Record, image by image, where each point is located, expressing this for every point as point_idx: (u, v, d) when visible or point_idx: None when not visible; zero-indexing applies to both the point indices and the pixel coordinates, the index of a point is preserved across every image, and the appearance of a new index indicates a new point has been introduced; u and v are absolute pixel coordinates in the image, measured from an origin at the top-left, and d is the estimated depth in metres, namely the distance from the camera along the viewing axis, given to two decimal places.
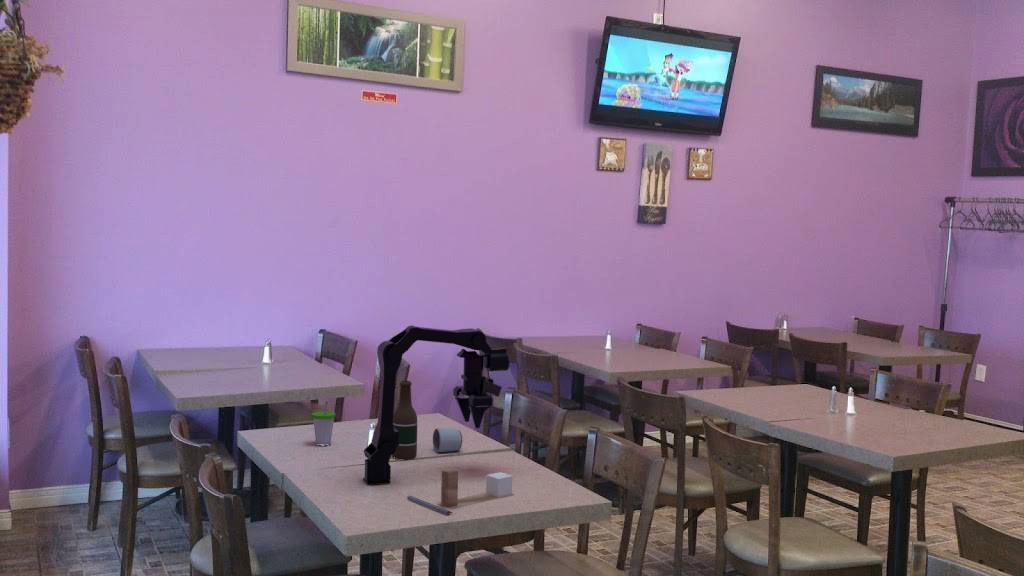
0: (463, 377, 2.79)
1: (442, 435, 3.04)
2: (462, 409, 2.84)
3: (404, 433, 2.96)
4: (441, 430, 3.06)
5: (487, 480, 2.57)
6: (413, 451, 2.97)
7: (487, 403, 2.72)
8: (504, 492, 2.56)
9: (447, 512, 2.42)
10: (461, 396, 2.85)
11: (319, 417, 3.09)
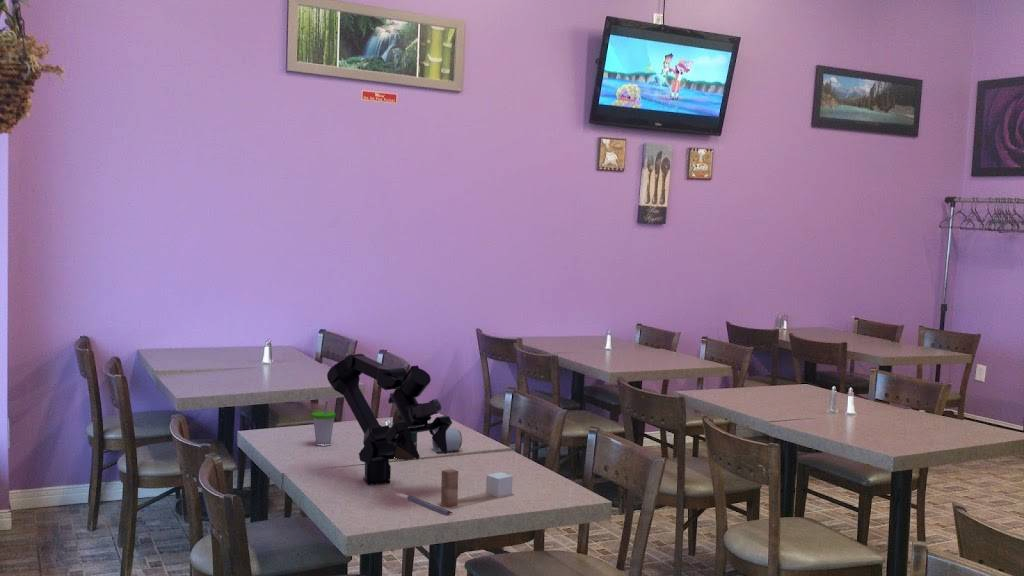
0: None
1: None
2: (438, 445, 2.58)
3: None
4: None
5: (487, 480, 2.57)
6: None
7: (393, 432, 2.49)
8: (504, 492, 2.56)
9: (447, 512, 2.42)
10: (434, 432, 2.60)
11: (319, 417, 3.09)
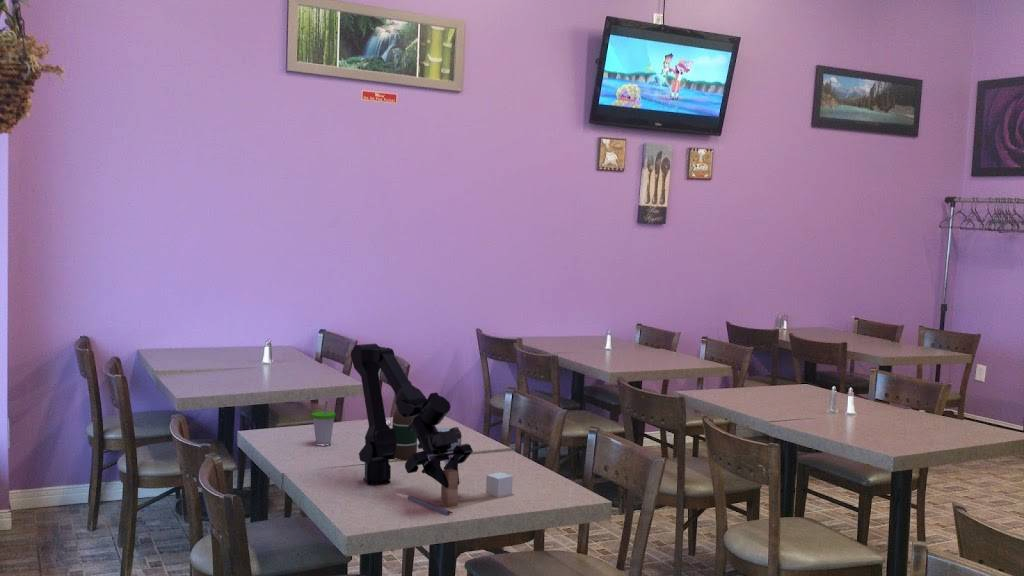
0: None
1: None
2: None
3: (404, 433, 2.96)
4: (440, 429, 3.07)
5: (487, 480, 2.57)
6: (413, 451, 2.97)
7: (412, 462, 2.42)
8: (504, 492, 2.56)
9: (447, 512, 2.42)
10: (445, 463, 2.51)
11: (319, 417, 3.09)
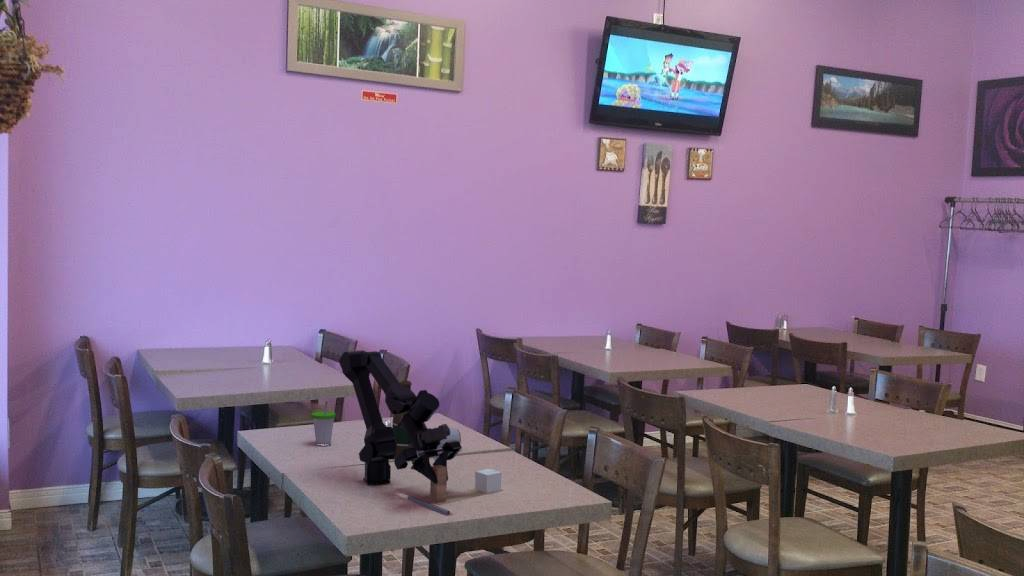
0: None
1: None
2: None
3: (404, 433, 2.96)
4: None
5: (476, 476, 2.61)
6: None
7: (401, 458, 2.46)
8: (492, 488, 2.59)
9: (447, 512, 2.42)
10: (435, 459, 2.55)
11: (319, 417, 3.09)
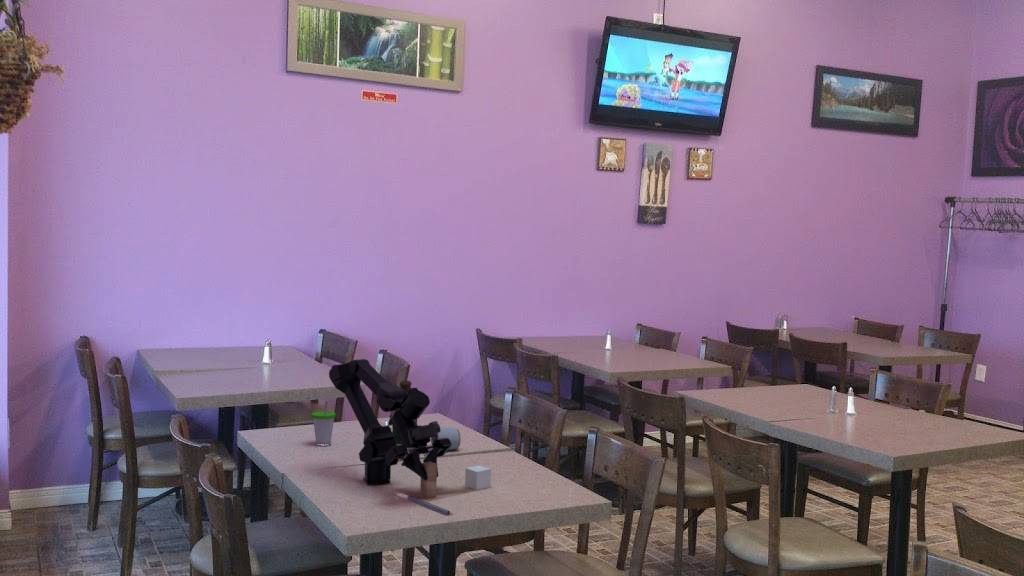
0: None
1: (440, 434, 3.06)
2: None
3: None
4: None
5: (466, 473, 2.64)
6: None
7: (392, 455, 2.49)
8: (482, 485, 2.62)
9: (447, 512, 2.42)
10: (425, 456, 2.58)
11: (319, 417, 3.09)
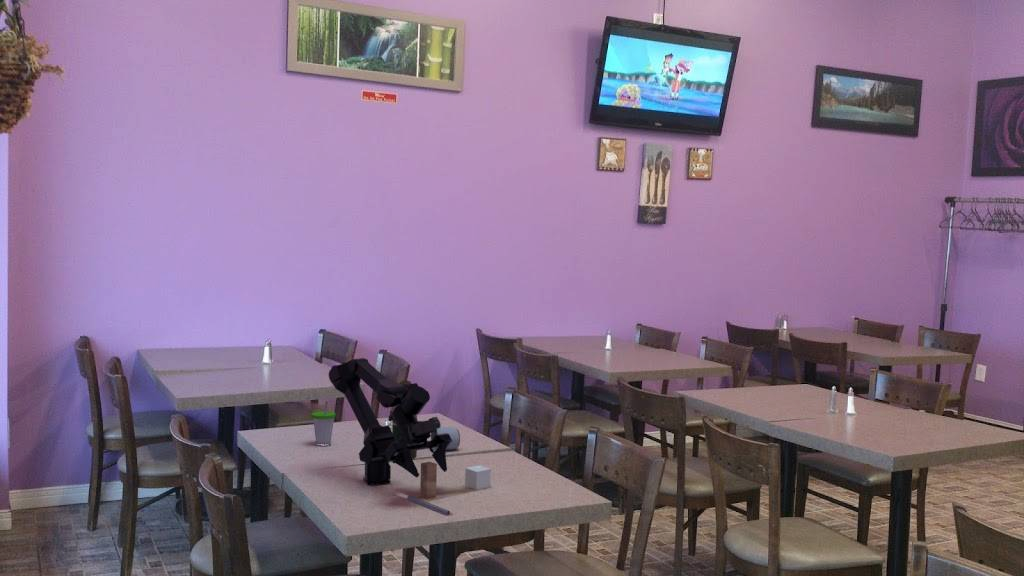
0: None
1: None
2: (438, 462, 2.58)
3: None
4: (439, 429, 3.08)
5: (466, 473, 2.64)
6: (413, 451, 2.97)
7: (392, 450, 2.49)
8: (482, 485, 2.62)
9: (447, 512, 2.42)
10: (434, 450, 2.60)
11: (319, 417, 3.09)
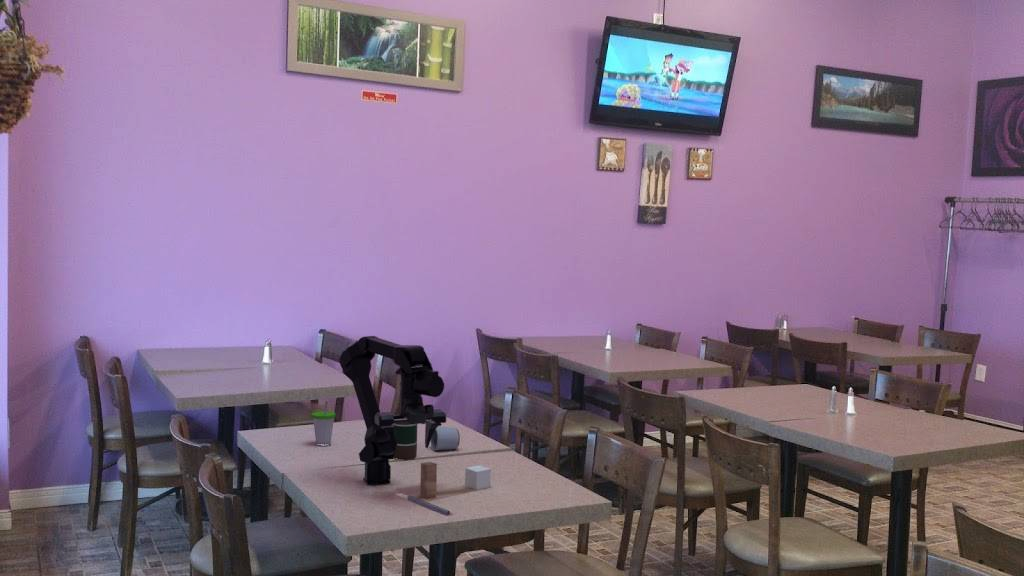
0: None
1: (439, 434, 3.07)
2: (426, 433, 2.63)
3: (404, 433, 2.96)
4: (439, 428, 3.08)
5: (466, 473, 2.64)
6: (413, 451, 2.97)
7: (378, 422, 2.55)
8: (482, 485, 2.62)
9: (447, 512, 2.42)
10: None
11: (319, 417, 3.09)
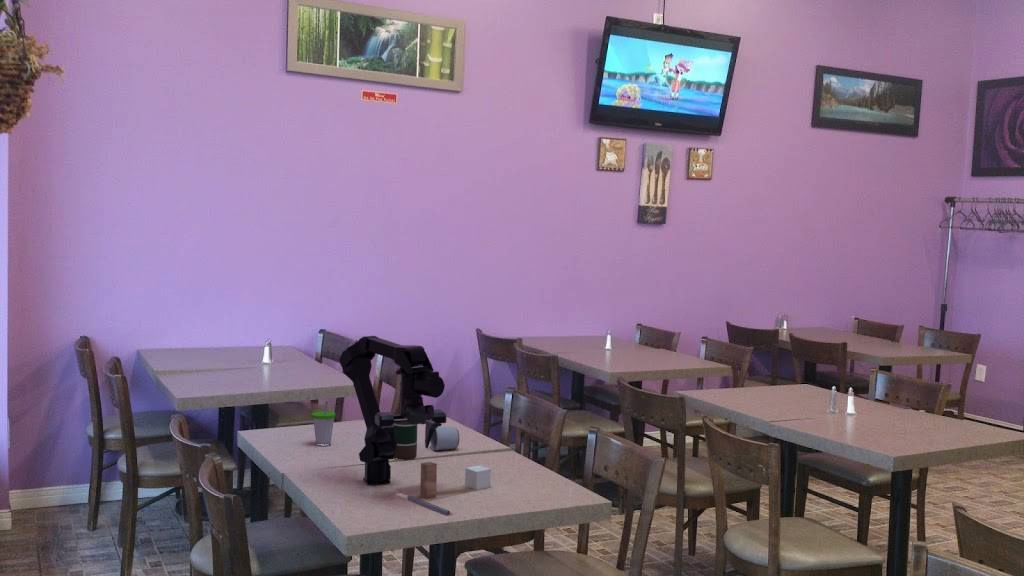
0: None
1: (439, 433, 3.07)
2: (426, 433, 2.63)
3: (404, 433, 2.96)
4: (438, 428, 3.08)
5: (466, 473, 2.64)
6: (413, 451, 2.97)
7: (378, 422, 2.55)
8: (482, 485, 2.62)
9: (447, 512, 2.42)
10: (428, 419, 2.63)
11: (319, 417, 3.09)
